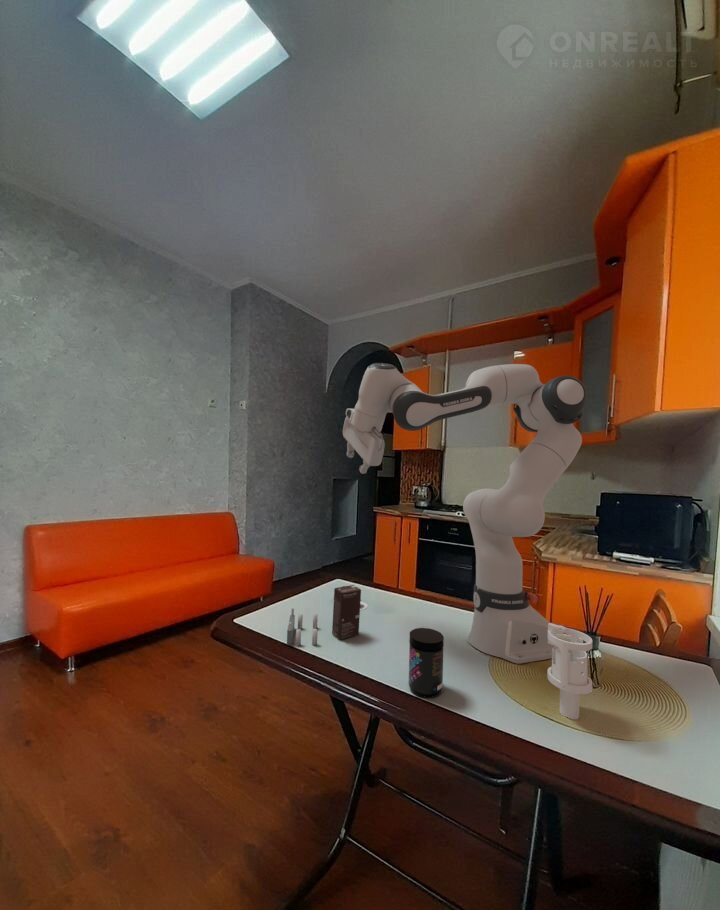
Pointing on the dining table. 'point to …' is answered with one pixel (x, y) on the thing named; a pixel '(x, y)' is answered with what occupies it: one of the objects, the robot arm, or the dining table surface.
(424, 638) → the supplement container
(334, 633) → the box
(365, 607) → the teacup and saucer
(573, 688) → the white plastic upright piece
